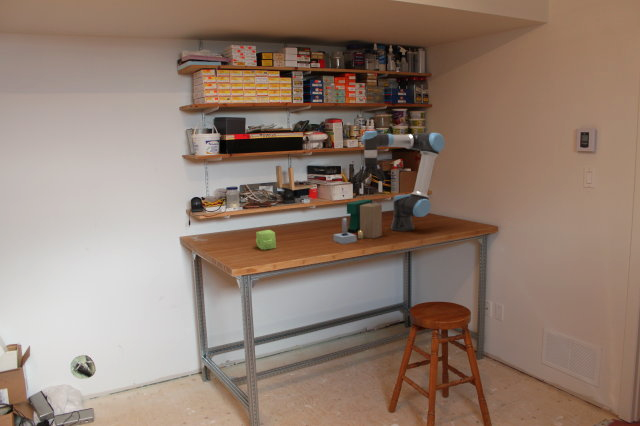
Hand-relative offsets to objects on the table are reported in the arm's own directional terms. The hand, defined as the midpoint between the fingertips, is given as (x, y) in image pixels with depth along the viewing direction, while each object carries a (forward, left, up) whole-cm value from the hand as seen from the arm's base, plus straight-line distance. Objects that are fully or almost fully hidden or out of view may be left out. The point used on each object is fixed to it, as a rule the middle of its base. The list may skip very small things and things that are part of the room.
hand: (371, 193), depth 309 cm
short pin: (+3, -7, -29) cm, 30 cm away
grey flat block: (+15, -6, -29) cm, 33 cm away
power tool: (-12, -27, -29) cm, 41 cm away
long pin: (+15, -6, -29) cm, 33 cm away
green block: (+62, -19, -29) cm, 71 cm away
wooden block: (-6, -9, -29) cm, 31 cm away
